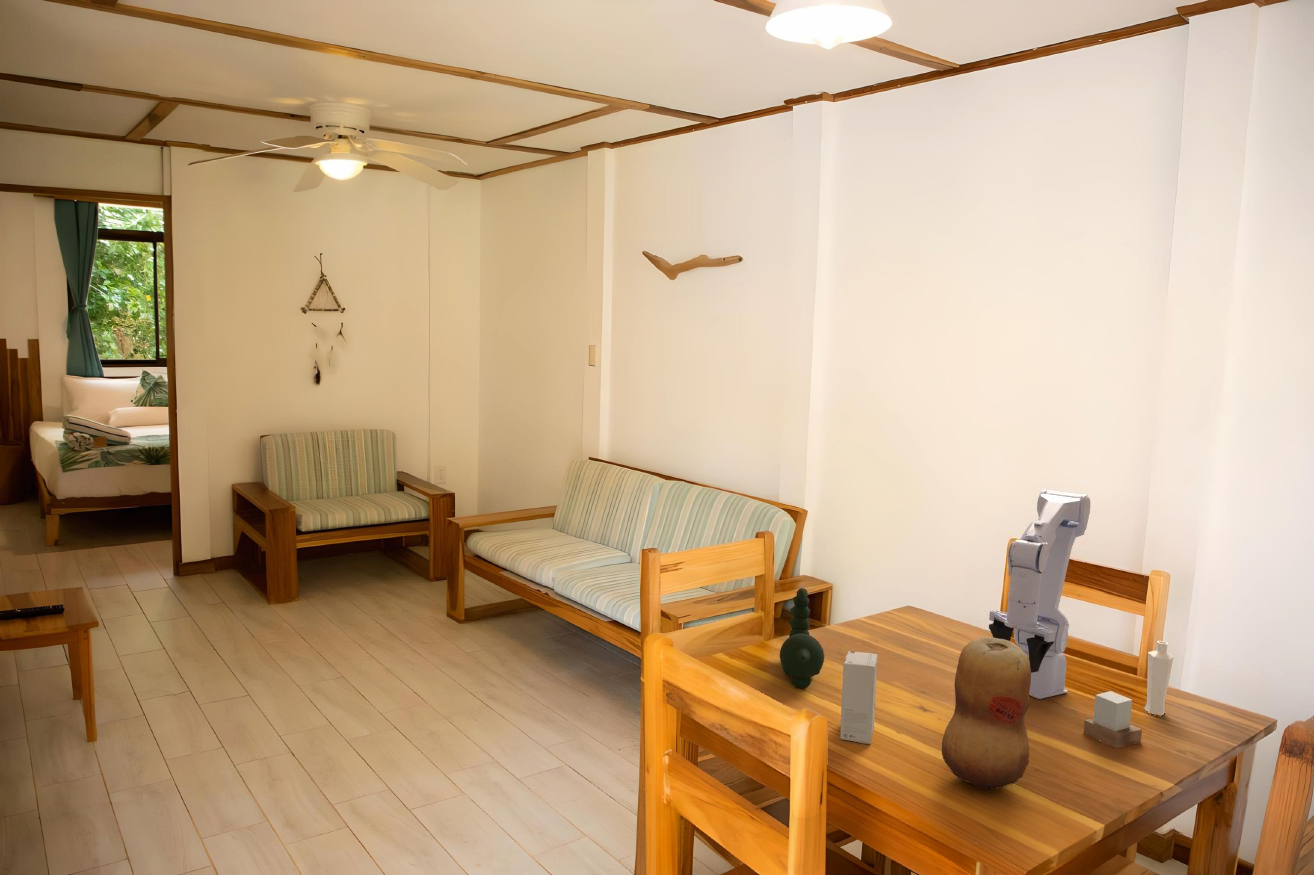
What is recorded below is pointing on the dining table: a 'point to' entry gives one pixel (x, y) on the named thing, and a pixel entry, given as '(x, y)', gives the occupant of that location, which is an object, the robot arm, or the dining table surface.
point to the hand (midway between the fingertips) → (1017, 664)
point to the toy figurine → (801, 645)
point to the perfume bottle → (1158, 678)
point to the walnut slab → (1113, 734)
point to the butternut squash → (989, 714)
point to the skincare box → (858, 697)
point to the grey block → (1112, 711)
